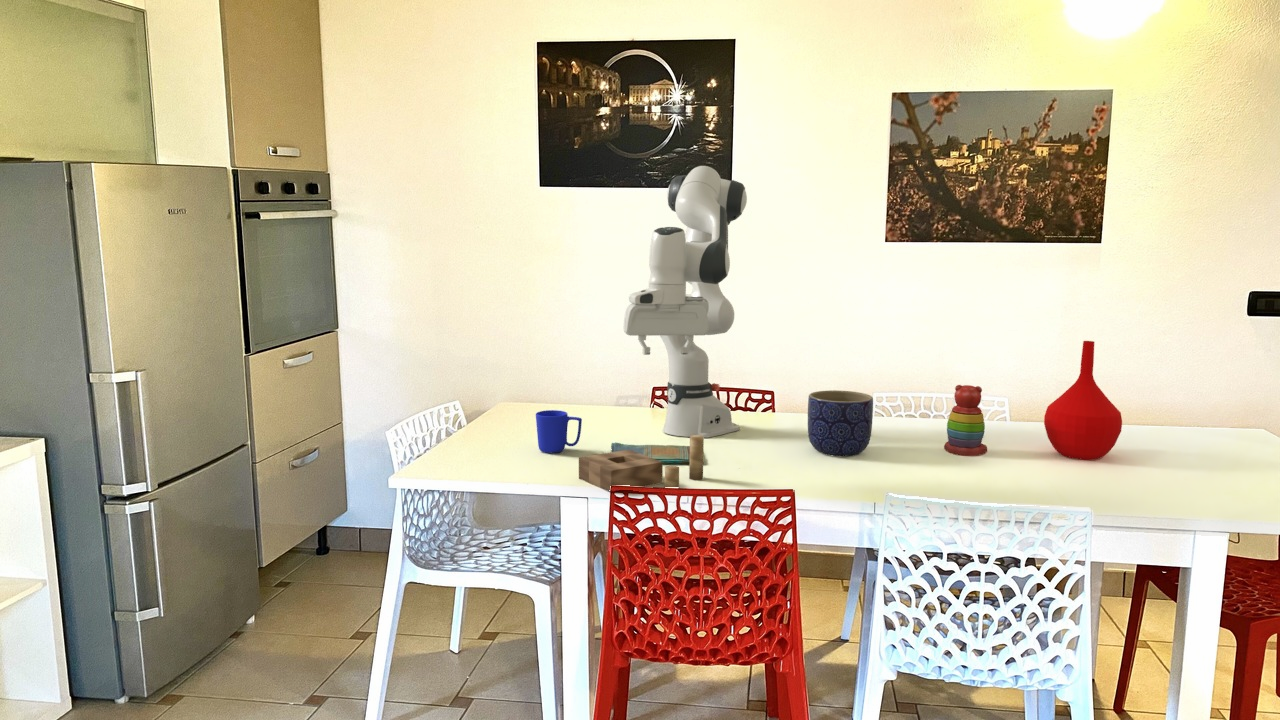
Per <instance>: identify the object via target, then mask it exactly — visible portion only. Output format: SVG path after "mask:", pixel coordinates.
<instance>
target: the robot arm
mask: <svg viewBox="0 0 1280 720" xmlns="http://www.w3.org/2000/svg"><path fill="white" fill-rule="evenodd" d="M666 199H667V205H668V207H669V208H670V210H671V211H672V212H675V214H676V216H677V217H678V219H679V221H680V222H681V223H682V224H683V225H684V226H686V230H684V229H683V228H681V227H676V226H664V227H658V228H656V229H654V230H653V232H652V235H651V241H650V246H649V247H650V248H649V256H648V257H649V258H648V259H649V261H648V264H649V265H648V267H649V270H650V277H649V279H648V287H647V288H646V289H642V290H639V291H637V292H633V293H631V294H629V296H628V301H629V303H630V304H628V305H627V307H626V308H625V313H624V320H623V332H624V333H625V334H626V335H628V336H629V337H630V336H631V337H633V336H637V338H638V339H637V340H638V342H639V343H640V345H641V346H642V355H644V356H646V355H647V356H648V355H651V347H650V346H647V344H646V343H645V341H646V340H647V336H651V337H652V336H659V337H660V338H661V341H662V342H663V343H664V346H665V349H666V351H667V357H668V382H667V389H666V390H667V391H666V394H667V401H668V402H667V410H666V415H665V416H666V417H665V421H664V424H663V427H662V432H663V433H664V434H667V435H671V436H675V437H677V436H678V437H689V438H690V436H692V435H701V436H704V439H707V438H708V439H710V438H713V437H716V436H721V435H724V434H729V433H733V432H737V431H739V430H741V429H740V427H741V426H740V425H738V424H736V423H734V422H733V418H732V412H731V410H730V408H729V407H728V406H727V405H726V404H725V403H724V402H723V401H721V400H720V399H719V398H717V397H716V396H715V395H714V392H715V391H716V392H719V391H720V390H721V385H720V384H718V383H710V382H709V364H710V363H709V360H710V359H709V357H708V354H707V352H706V351H705V350H704V349H702V348H701V347H700V346H698V345H696V343H695V342H694V336H714V335H720V334H725V333H727V332H728V331H729V330H730V329H731V328H732V326H733V324H734V320H735V309H734V307H733V304H732V303H731V302H730V300H729V299H728V298H726V296H725V295H724V294H723V292H722V290H721V288H720V284H719V283H722V281H723V280H725V279H726V278H727V277H728V275H729V272H730V267H731V265H730V264H731V260H730V253H729V225H730V224H731V222H734V221H736V220H737V219H738V218H740V217H741V216H742V214H743V212H744V210H745V208H746V207H747V200H748V196H747V191H746V187H745V186H744V184H743V183H742V182H739V181H736V180H734V179H732V180H728V179H726V178H725V179H724V178H721V175H719V173H718V171H717V170H716V169H714V168H713V167H710V166H707V165H698V166H696V167H694V168H693V169H691V170H690V171H689V172H688V174H687V175H686V174H685V175H678V176H677V175H676V176H675V177H673V178H672V179H671V181H670V184H669V185H668V188H667V191H666ZM687 283H688V284H690V285H691V287H692V292H691V293H690V294H687ZM713 391H714V392H713Z"/></svg>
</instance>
